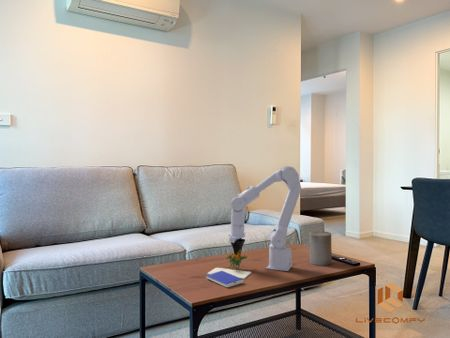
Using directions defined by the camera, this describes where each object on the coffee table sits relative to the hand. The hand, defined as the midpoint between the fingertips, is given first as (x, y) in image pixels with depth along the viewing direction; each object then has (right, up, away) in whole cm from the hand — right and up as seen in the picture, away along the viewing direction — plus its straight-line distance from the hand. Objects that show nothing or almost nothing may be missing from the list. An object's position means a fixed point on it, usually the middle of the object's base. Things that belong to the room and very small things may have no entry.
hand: (237, 256), depth 157 cm
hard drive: (-6, -5, -19) cm, 20 cm away
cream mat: (-4, -5, -9) cm, 11 cm away
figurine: (-1, -5, -2) cm, 5 cm away
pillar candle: (+38, -5, +8) cm, 39 cm away
